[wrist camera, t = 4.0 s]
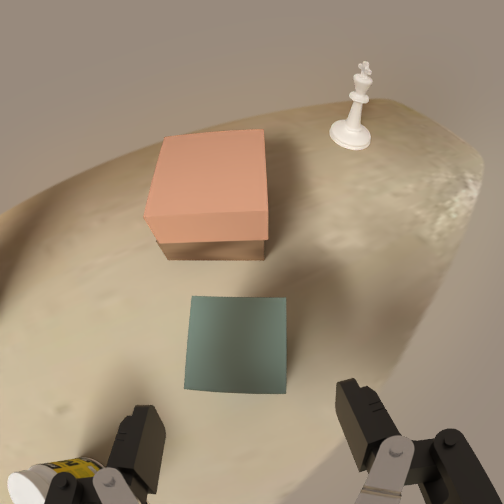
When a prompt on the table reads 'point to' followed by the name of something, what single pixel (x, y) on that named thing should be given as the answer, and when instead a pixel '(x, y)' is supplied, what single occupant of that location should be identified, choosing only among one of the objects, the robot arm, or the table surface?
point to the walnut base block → (214, 250)
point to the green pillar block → (236, 345)
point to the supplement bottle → (46, 478)
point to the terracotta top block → (210, 188)
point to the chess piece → (354, 115)
